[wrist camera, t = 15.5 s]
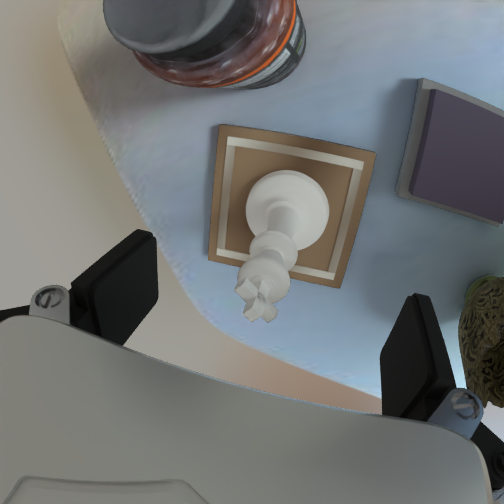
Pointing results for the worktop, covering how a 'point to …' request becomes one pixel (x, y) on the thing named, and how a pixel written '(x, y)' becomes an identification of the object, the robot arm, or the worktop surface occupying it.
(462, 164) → the ink pad
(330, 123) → the worktop surface
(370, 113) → the worktop surface
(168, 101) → the worktop surface
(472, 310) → the cup
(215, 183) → the stamp board
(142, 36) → the supplement bottle
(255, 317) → the chess piece
